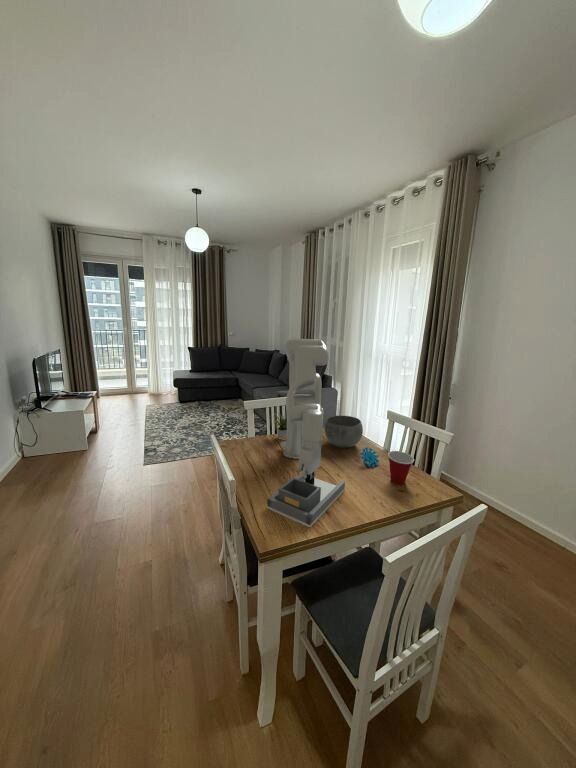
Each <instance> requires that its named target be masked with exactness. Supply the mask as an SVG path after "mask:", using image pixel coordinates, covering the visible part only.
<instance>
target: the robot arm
mask: <svg viewBox="0 0 576 768" xmlns="http://www.w3.org/2000/svg"><path fill="white" fill-rule="evenodd" d="M284 349H285V355H286V357H287V360H288V363H289V373H288V374H289V375H288V377H289V379H288V387H289V389H288V391H287V394H286V399H285V409H286V411H285V412H286V415H287V419H286V420H287V440H286V441H281V445H280V447H281V448H283V451H282V452H283V456H285V457H286V458H288V459H292V458H293V460H298V466H297V468H298V469H297V471H298V472H299V473H302V478H305V482H307V483H310V484H313V485H314V478H316V471H317V470H318V469H319V467H320V466H321V463H322V462H321V461H322V444H323V443H322V441H323V428H324V426H323V425H324V408H323V407H322V405H321V404H322V385H323V384H322V376H321V375H320V374H319V373H317V370H316V366H325V365H327V364H328V363H329V360H330V357H329V350H328V348H327V345H326V343H324V341H323V340H321V339H316V338H292V339H287V340H286V341H285V345H284ZM304 393H305V394H304ZM306 393H307V394H306ZM308 393H309V394H308ZM310 393H311V394H310Z"/></svg>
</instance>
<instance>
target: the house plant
mask: <svg viewBox="0 0 576 768" xmlns="http://www.w3.org/2000/svg"><path fill="white" fill-rule="evenodd" d="M271 413H273V414H274V415H276V416H272V418H276V420H275V421H274V423H273V424H275V427H277V428H276V429H277V436H278V437H279V438H282V439H286V438H287V414H286V412H284V414H283V416H282V415H281V413H280V412H278V415H279V416H278V415H277V413H274V412H271ZM285 414H286V415H285ZM279 438H278V439H279Z"/></svg>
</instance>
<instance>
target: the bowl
mask: <svg viewBox="0 0 576 768" xmlns="http://www.w3.org/2000/svg"><path fill="white" fill-rule="evenodd" d="M363 430H364V429H363V424H362V421H361V420H360V419H359V418H358V417H355V416H351V415H334V416H330V417H328V418H327V419H326V421H325V424H324V434H325V437H326V440H327V441H328V442H329V443H330V444H331V445H332V446H335V447H337V448H343V449H344V448H351V447H354V446H355V445H357V444H359V442H360V440H361V439H362V437H363V433H364V431H363Z"/></svg>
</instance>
